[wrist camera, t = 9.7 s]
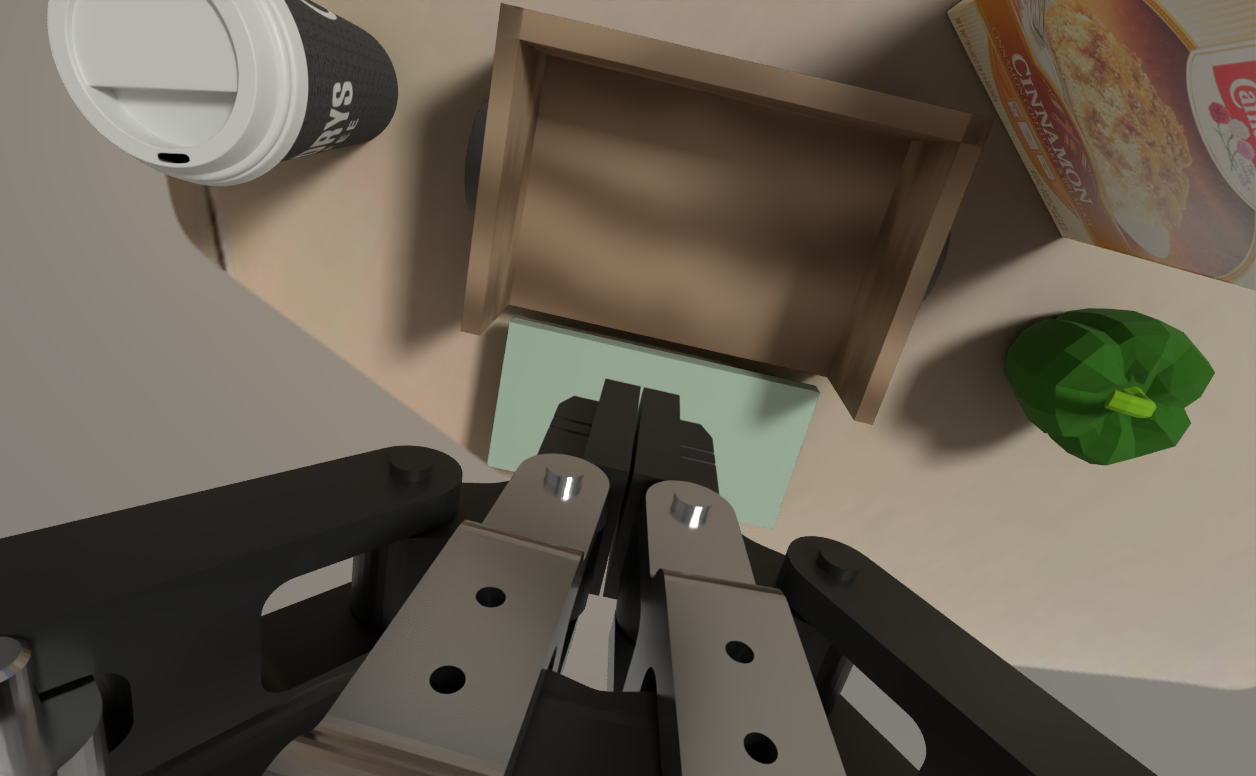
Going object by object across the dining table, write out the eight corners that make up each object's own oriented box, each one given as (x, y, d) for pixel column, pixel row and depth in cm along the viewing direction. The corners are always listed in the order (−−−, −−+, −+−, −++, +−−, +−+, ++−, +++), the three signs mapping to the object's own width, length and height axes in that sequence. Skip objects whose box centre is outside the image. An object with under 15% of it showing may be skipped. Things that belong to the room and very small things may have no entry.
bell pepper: (1154, 345, 40) (1298, 408, 31) (1045, 436, 43) (1147, 520, 34) (1065, 260, 39) (1187, 300, 30) (957, 360, 42) (1039, 425, 32)
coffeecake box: (941, 12, 35) (1231, -118, 17) (1073, -83, 33) (1562, -350, 15) (1058, 243, 39) (1396, 341, 20) (1181, 169, 37) (1676, 204, 19)
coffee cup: (248, 127, 39) (13, 124, 25) (284, -42, 36) (36, -154, 22) (396, 196, 40) (249, 230, 26) (445, 38, 37) (305, -20, 23)
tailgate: (509, 321, 39) (486, 465, 43) (819, 392, 40) (772, 529, 43) (517, 314, 41) (494, 452, 45) (813, 381, 42) (768, 514, 45)
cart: (513, 26, 36) (464, -6, 28) (948, 128, 37) (1029, 127, 28) (479, 286, 42) (430, 324, 34) (857, 372, 42) (902, 431, 34)
